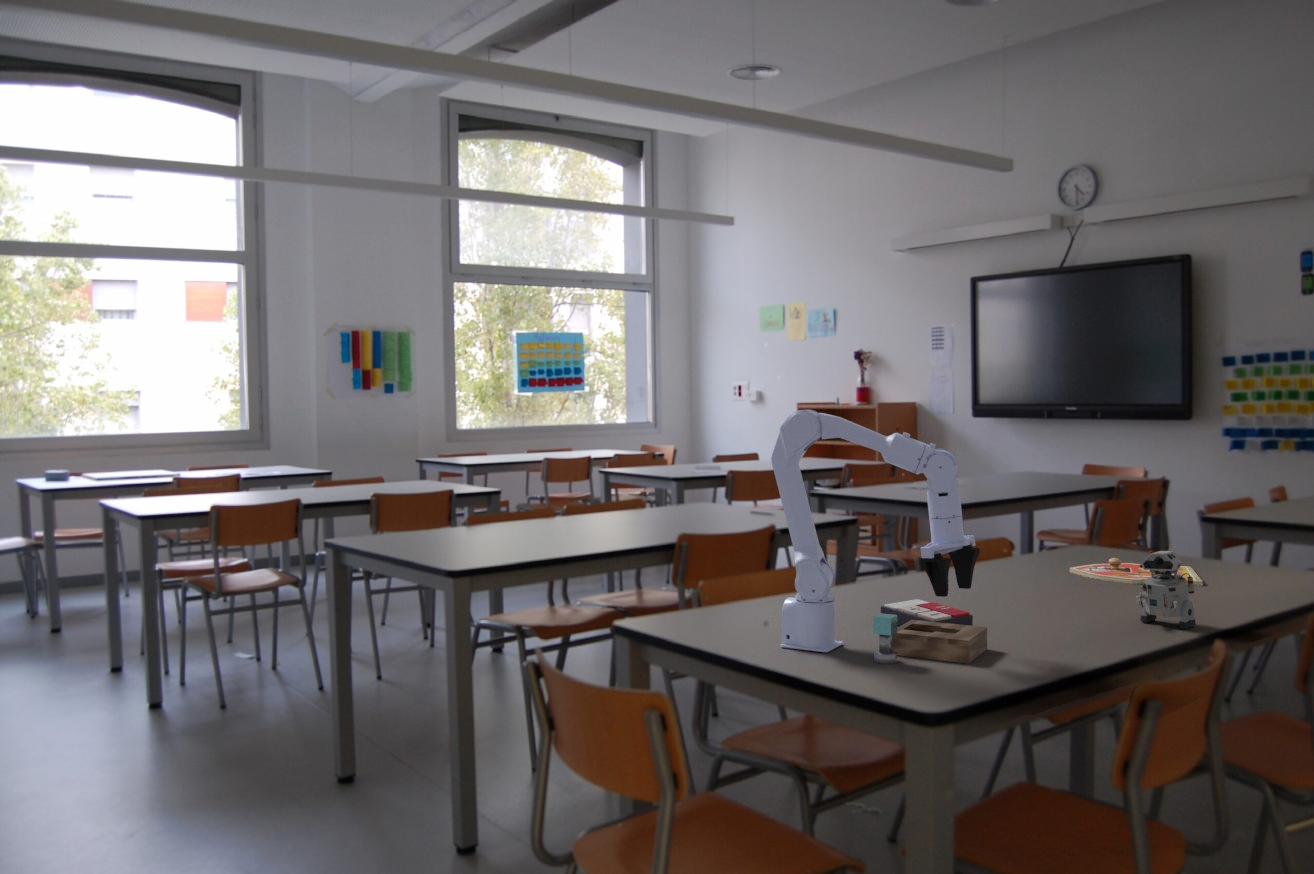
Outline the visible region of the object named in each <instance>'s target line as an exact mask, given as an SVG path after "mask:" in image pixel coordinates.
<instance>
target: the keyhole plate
mask: <svg viewBox="0 0 1314 874" xmlns="http://www.w3.org/2000/svg"><path fill="white" fill-rule="evenodd" d="M986 650H988V627H987V626H978V625H977V626H976V625H972V626H969V625H959V624H949V623H939V622H929V621H920V620H911V621H909V622H907V623H905V624H903V625H902V626H897V633H895V634H893V635H892V651H895V652H897V656H902V657H909V658H917V659H924V660H925V659H926V660H934V661H944V662H951V663H957V664H958V663H960V664H968V665H969V664H970V663H971V662H973V661H974V660H975V659H976V658H978V657H979V656H980V655H982V654H983V653H984V652H986Z"/></svg>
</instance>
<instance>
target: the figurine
mask: <svg viewBox="0 0 1314 874" xmlns="http://www.w3.org/2000/svg"><path fill="white" fill-rule="evenodd" d="M1149 553H1150V554H1149V555H1148V556H1147V557H1145V558H1144V560H1143V561H1142V562H1141V563H1140V564H1141V565H1140V568H1142V567H1143V569H1144V570H1150V573H1151V575H1152V576H1151V577H1150V578H1148V579H1146V580H1145V581H1143V583H1142V584H1141V586H1140V587H1141V590H1142V591H1140V592H1139V595H1135V598H1136V603H1137V605H1138V607H1139V608H1140V607H1141V615H1140V619H1139V621H1140V622H1141V623H1145V624H1148V623H1150V622H1154V621H1156V620H1157V617H1163V618H1174V617H1175V618H1176V617H1180V621H1179V622H1178V628H1180V629H1181V630H1189V629H1192V628H1194V627H1195V626H1196V623H1197V622H1196V618H1195V609H1194V604H1193V602H1192V600H1190V599H1189V594H1190V595H1191V594H1195V589H1194V587H1195V586H1193V577H1190V575H1189V574H1188V575H1189V577H1187V579H1188V580H1186V579H1185V578H1184V577H1182V576H1183V575H1185V574H1187V573H1185V574H1183V575H1182V576H1176V574H1177V572H1178V571H1177V569H1179V568H1180V566H1182V560H1181V559H1180V556H1179V555H1178V553H1176V552H1175V550H1158V551H1155V552H1154V551H1153V550H1150V551H1149ZM1172 573H1174V575H1172ZM1187 581H1188V585H1187Z"/></svg>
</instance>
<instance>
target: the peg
mask: <svg viewBox="0 0 1314 874" xmlns="http://www.w3.org/2000/svg"><path fill="white" fill-rule="evenodd" d="M872 625H873V626H872V627H873V628H872V629H873V630H872V631H873V632H872V633H873V634H874V635H878V650H874V651H873V662H874V663H876V664H881V665H894V664H897V663H898V655H897V652H895V651H892V635H893V634H895V633H897V628H898V625H897V615H892V614H882V613H881V612H879V613H877V614H875V615H874V616H872Z"/></svg>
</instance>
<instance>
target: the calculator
mask: <svg viewBox="0 0 1314 874" xmlns="http://www.w3.org/2000/svg"><path fill="white" fill-rule="evenodd" d="M880 613H882V614H892V615H897V627H900V626H902V625H903V624H905V623H907V622H909V621H911V620H920V621H929V622H939V623H949V624H959V625H969V626H974V625H973V623H974V622H973V621H974V620H973V619H974V616H973V614H970V612H969V611H965V610H962V609H958V608H954V607H951V606H948V605H944V604H941V603H940V604H939V603H937V602H930V601H925V600H924V599H923V600H922V599H919V598H916V599H910V600H905V601H904V600H903V601H899V602H890V603H884V604H883V605H881V606H880Z"/></svg>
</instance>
